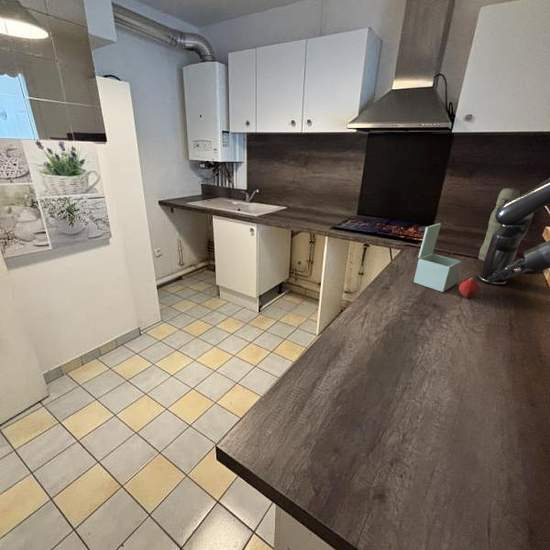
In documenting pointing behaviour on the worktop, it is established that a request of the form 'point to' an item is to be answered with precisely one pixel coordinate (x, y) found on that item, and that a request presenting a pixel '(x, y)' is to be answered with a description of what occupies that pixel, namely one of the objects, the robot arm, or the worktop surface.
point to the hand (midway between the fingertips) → (492, 277)
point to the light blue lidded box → (437, 272)
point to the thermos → (503, 197)
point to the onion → (468, 288)
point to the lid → (429, 239)
